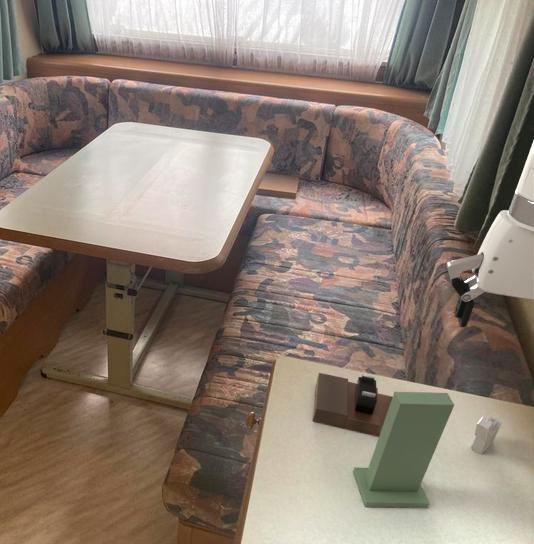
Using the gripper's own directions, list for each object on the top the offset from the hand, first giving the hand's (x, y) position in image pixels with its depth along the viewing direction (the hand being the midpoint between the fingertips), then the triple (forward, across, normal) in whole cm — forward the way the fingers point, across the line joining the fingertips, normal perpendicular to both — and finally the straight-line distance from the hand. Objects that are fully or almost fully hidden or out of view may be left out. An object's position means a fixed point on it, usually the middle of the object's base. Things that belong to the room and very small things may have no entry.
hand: (499, 328), depth 77 cm
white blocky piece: (+25, -4, -3) cm, 25 cm away
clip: (+22, +13, -5) cm, 26 cm away
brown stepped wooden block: (+24, +13, -5) cm, 28 cm away
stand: (+24, +9, +10) cm, 28 cm away
